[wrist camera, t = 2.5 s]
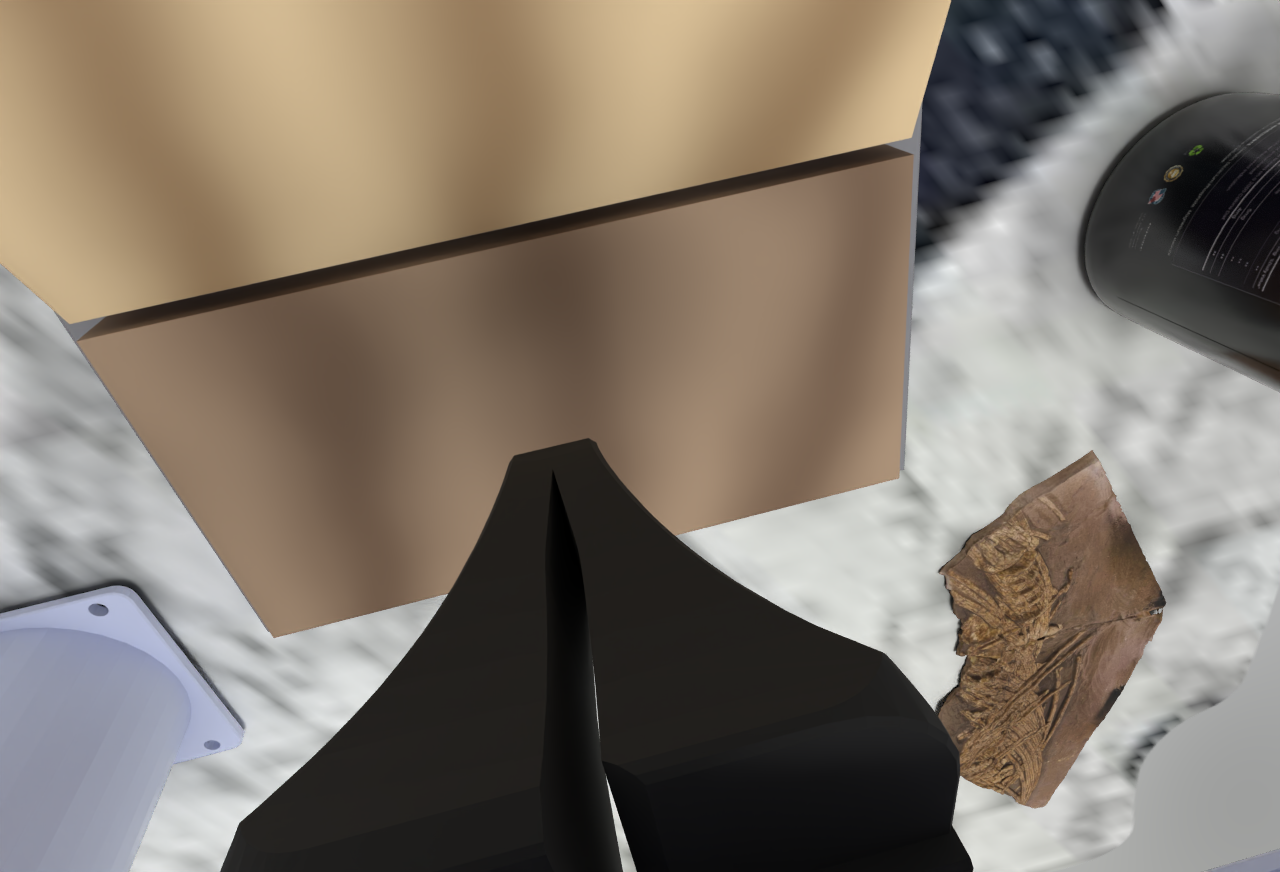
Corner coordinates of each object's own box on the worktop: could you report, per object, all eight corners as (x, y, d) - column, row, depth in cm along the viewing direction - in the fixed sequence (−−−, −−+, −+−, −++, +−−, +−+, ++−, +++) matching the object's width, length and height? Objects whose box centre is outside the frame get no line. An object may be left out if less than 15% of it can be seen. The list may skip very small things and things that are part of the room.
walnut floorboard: (285, 602, 23) (273, 638, 21) (105, 316, 17) (76, 341, 16) (877, 453, 24) (899, 478, 23) (884, 143, 19) (913, 154, 17)
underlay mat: (272, 618, 24) (268, 631, 23) (-381, -384, 11) (-422, -403, 11) (895, 460, 25) (904, 469, 25) (937, -580, 13) (957, -604, 12)
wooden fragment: (938, 490, 27) (954, 507, 26) (1206, 411, 27) (1231, 425, 26) (925, 834, 41) (935, 852, 40) (1102, 777, 41) (1116, 794, 40)
